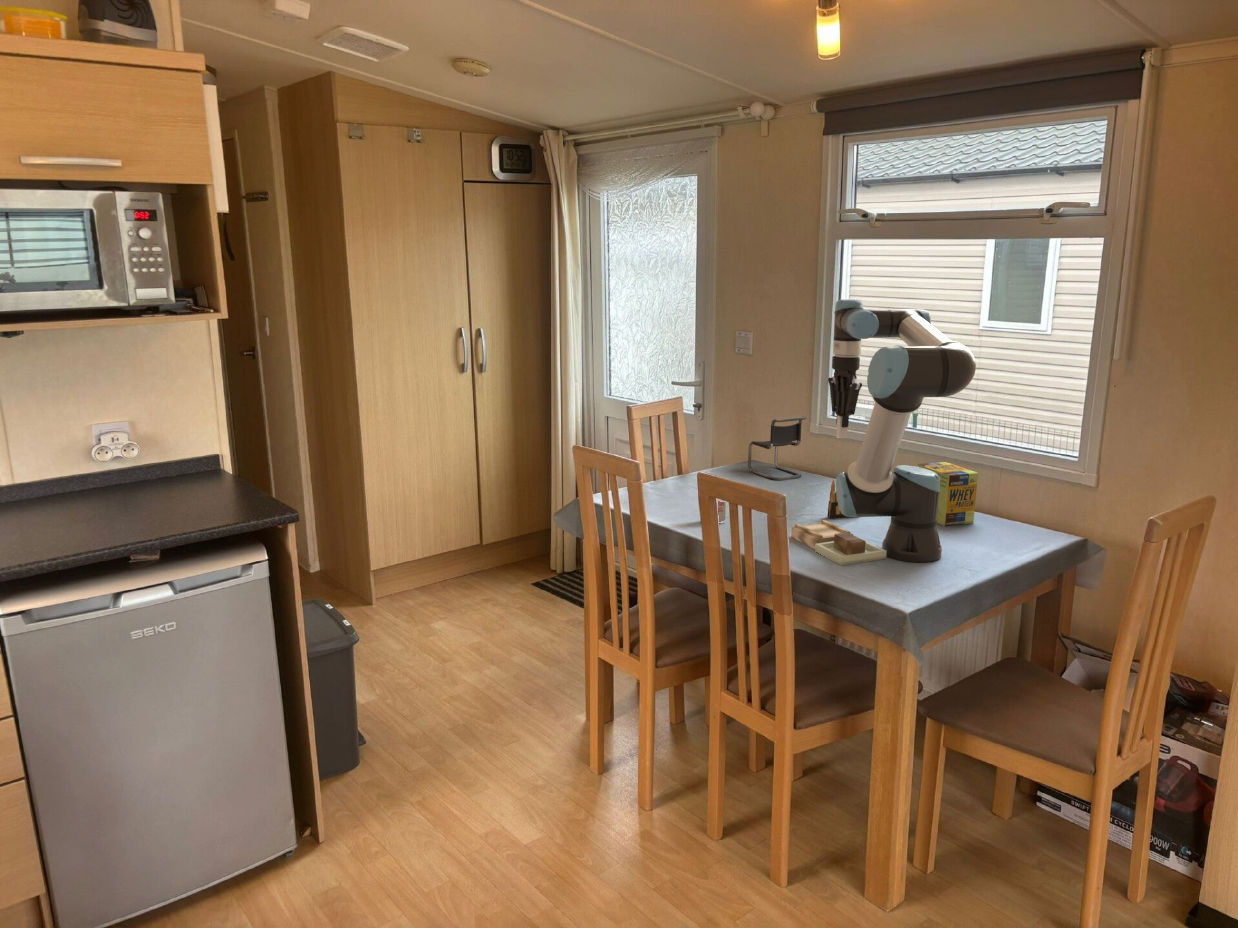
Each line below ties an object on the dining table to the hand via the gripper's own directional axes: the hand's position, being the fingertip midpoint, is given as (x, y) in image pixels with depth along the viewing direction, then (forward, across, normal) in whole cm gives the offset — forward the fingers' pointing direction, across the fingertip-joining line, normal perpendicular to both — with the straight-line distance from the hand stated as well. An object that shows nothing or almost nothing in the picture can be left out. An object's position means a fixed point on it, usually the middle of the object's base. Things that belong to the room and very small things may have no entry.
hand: (841, 437), depth 260 cm
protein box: (+27, +5, +35) cm, 44 cm away
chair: (+27, -61, +17) cm, 69 cm away
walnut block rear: (+26, +21, -12) cm, 35 cm away
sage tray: (+26, +23, -12) cm, 37 cm away
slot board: (+26, +10, -12) cm, 31 cm away
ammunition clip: (+27, -7, +8) cm, 29 cm away
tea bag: (+27, -17, -32) cm, 45 cm away
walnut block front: (+24, +23, -12) cm, 35 cm away
